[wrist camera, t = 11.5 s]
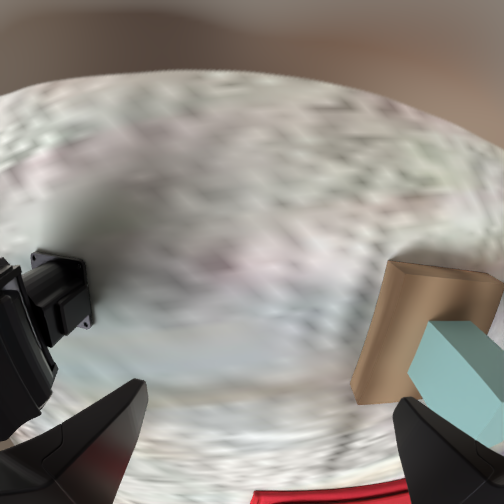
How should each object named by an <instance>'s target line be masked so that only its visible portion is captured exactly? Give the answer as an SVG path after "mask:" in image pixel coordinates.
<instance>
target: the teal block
mask: <svg viewBox="0 0 504 504" xmlns="http://www.w3.org/2000/svg"><path fill="white" fill-rule="evenodd" d="M407 373H408V375H409V377H410V378H411V380H412V381H413V383H414V385H415V386H416V388H417V389H418V391H419V393H420V394H421V396H422V398H423V399H424V401H425V403H426V404H427V406H428V408H429V409H431V410H432V411H434V412H435V413H437V414H438V415H440V416H441V417H443V418H444V419H446V420H447V421H449V422H450V423H451V424H453V425H454V426H456V427H457V428H459V429H460V430H462V431H463V432H465V433H466V434H468V435H469V436H471V437H472V438H474V439H475V440H477V441H479V442H480V443H482V444H483V445H485V446H486V447H488V448H490V447H492V446H494V445H497V444H499V443H501V442H503V441H504V351H503V350H502V349H501V348H500V347H499V346H498V345H497V344H496V343H495V342H494V341H493V340H491V339H490V338H489V337H488V336H487V335H486V334H485V333H484V332H483V331H481V330H480V329H479V328H478V327H477V326H476V325H475V324H473V323H472V322H471V321H428V324H427V326H426V329H425V332H424V334H423V337H422V339H421V342H420V344H419V347H418V349H417V352H416V354H415V356H414V359H413V361H412V363H411V365H410V368H409V370H408V372H407Z"/></svg>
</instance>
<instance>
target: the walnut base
mask: <svg viewBox="0 0 504 504" xmlns="http://www.w3.org/2000/svg"><path fill="white" fill-rule="evenodd" d="M503 291H504V283H503V282H501V281H499V280H498V279H496V278H494V277H493V276H491V275H489V274H487V273H482V272H474V271H467V270H459V269H451V268H443V267H436V266H428V265H420V264H412V263H404V262H396V261H388V262H387V266H386V270H385V275H384V279H383V282H382V286H381V290H380V294H379V297H378V301H377V305H376V308H375V311H374V315H373V318H372V321H371V325H370V328H369V331H368V334H367V337H366V340H365V343H364V346H363V349H362V352H361V355H360V358H359V360H358V363H357V366H356V369H355V371H354V374H353V377H352V379H351V382H350V385H351V388H352V391H353V393H354V396H355V399H356V401H357V404H358V405H367V404H381V403H393V402H399V401H400V399H401V398H403V397H409V396H411V397H414V398H415V399H416V400H419V399H423V398H422V396H421V394H420V393H419V391H418V389H417V388H416V386H415V385H414V383H413V381H412V380H411V378H410V377H409V375H408V373H407V372H408V370H409V368H410V365H411V363H412V361H413V359H414V356H415V354H416V352H417V349H418V347H419V344H420V342H421V339H422V337H423V334H424V332H425V329H426V326H427V324H428V321H471V322H472V323H473V324H475V325H476V326H477V327H478V328H479V329H480V330H481V331H483V332H484V333H485V334H486V335H487V334H488V331H489V329H490V327H491V324H492V322H493V319H494V316H495V314H496V311H497V308H498V306H499V303H500V300H501V297H502V294H503Z"/></svg>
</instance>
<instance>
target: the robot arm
mask: <svg viewBox="0 0 504 504" xmlns="http://www.w3.org/2000/svg"><path fill="white" fill-rule="evenodd" d="M35 257H36V258H35ZM79 264H80V265H81V268H80V267H79ZM31 265H32V270H30V271H28V272H27V273H25V274H23V275H21V273H22V271H21V267H20V265H15V266H12V265H10V263H8V262H7V261H6V260H5V259H4V257H2V258H0V441H5V440H7V439H8V438H9V437H10V436H11V435H12V434H13V433H14V432H15V431H16V430H17V429H18V428H19V427H20V426H21V425H23V424H24V423H26V422H27V421H29V420H31V419H33V418H35V417H38V416H40V415H41V411H40V410H41V409H42V408H43V407H44V405H45V404H46V402H47V401H48V400H49V398H50V397H51V395H52V390H51V388H52V385H53V382H54V379H55V377H56V374H57V371H58V367H57V365H56V363H55V362H54V361H53V359H52V357H51V354H50V352H49V350H48V348H47V347H50V348H52V347H53V346H54V345H55V344H56V343H57V342H58V341H59V340H60V339H61V338H62V337H63V336H64V335H65V336H68V335H69V334H70V333H71V332H72V331H73V330H74V329H75V328H76V327H80V328H84V329H90V328H91V327H92V319H91V307H90V299H89V290H88V286H87V276H86V265H85V262H84V261H83V260H81V259H76V258H70V257H64V256H58V255H53V254H47V253H41V252H33V253H32V254H31ZM86 323H87V324H88V325H87V324H86ZM147 404H148V392H147V385H146V382H145V381H144V380H140V379H136V378H134V379H132V380H130V381H129V382H127V383H126V384H124V385H122V386H121V387H119V388H118V389H116V390H115V391H113V392H111V393H110V394H108V395H107V396H105V397H103V398H102V399H100V400H99V401H97V402H95V403H94V404H92V405H91V406H89V407H87V408H86V409H84V410H83V411H81V412H79V413H78V414H76V415H74V416H73V417H71V418H69V419H68V420H66V421H64V422H63V423H62V424H59V425H57V426H56V427H54V428H52V429H50V430H49V431H47V432H45V433H43V434H41V435H39V436H37V437H35V438H32V439H30V440H28V441H25V442H23V443H21V444H18V445H16V446H13V447H10V448H8V449H5V450H2V451H0V504H113V501H114V498H115V496H116V493H117V491H118V488H119V486H120V483H121V480H122V478H123V475H124V473H125V470H126V468H127V465H128V463H129V460H130V458H131V455H132V453H133V450H134V448H135V446H136V443H137V440H138V437H139V434H140V430H141V426H142V423H143V419H144V415H145V411H146V408H147ZM393 423H394V429H395V435H396V441H397V447H398V452H399V456H400V460H401V463H402V467H403V471H404V475H405V479H406V483H407V487H408V492H409V496H410V500H411V504H504V456H502V455H501V454H499V453H497V452H495V451H493V450H491V449H490V448H488V447H486V446H485V445H483V444H482V443H480V442H479V441H477V440H475V439H474V438H472V437H471V436H469V435H468V434H466V433H465V432H463V431H462V430H460V429H459V428H457V427H456V426H454V425H453V424H451V423H450V422H449V421H447V420H446V419H444V418H443V417H441V416H440V415H438V414H437V413H435V412H434V411H432V410H431V409H429V408H428V407H427V406H425V405H424V404H422V403H421V402H419V401H418V400H416V399H415V398H414V397H411V396H409V397H403V398H401V399H400V401H399V403H398V405H397V407H396V408H395V410H394V412H393Z"/></svg>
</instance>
